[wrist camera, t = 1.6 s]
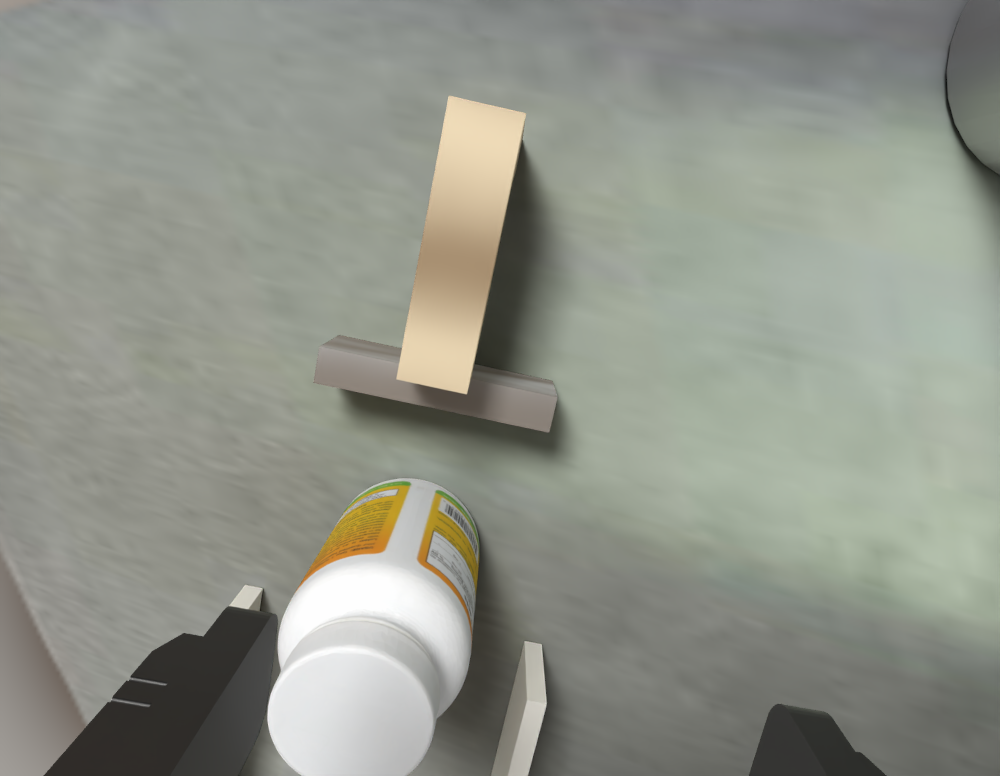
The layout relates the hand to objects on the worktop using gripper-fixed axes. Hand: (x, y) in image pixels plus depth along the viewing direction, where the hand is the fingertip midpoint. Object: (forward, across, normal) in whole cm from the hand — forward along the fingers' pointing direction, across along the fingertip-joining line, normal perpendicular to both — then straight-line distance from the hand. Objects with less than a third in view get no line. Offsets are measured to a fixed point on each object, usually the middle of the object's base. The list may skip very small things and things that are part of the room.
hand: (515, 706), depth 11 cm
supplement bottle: (+18, +3, +6) cm, 19 cm away
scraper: (+18, +3, -6) cm, 19 cm away
